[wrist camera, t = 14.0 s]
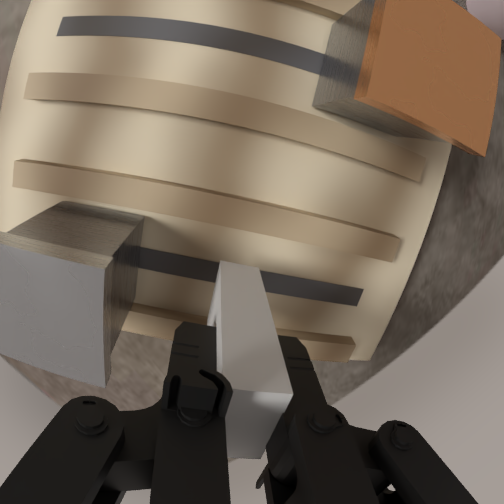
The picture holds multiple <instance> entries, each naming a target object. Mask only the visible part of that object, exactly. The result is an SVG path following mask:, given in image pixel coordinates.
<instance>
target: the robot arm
mask: <svg viewBox="0 0 504 504" xmlns="http://www.w3.org/2000/svg"><path fill="white" fill-rule="evenodd" d="M265 449H266V452H267V458H268V464H267V465H266V467H265V469H264V470H263V472H262V474H261V475H260V477H259V479H258V480H257V482H256V488H257V489H259V488H260V487H261V486H262V484H263V483H264V486H265V493H266V499H267V504H478V503H477V502H476V501H475V499H474V498H473V497H472V496H471V494H470V493H469V492H468V491H467V489H465V487H464V486H463V485H462V483H461V482H460V481H459V480H458V479H457V477H456V476H455V475H454V474H453V473H452V472H451V470H450V469H449V468H448V467H447V466H446V465H445V463H444V462H443V461H442V459H441V458H440V457H439V456H438V455H437V454H436V452H435V451H434V450H433V449H432V447H431V446H430V445H429V444H428V443H427V442H426V440H425V439H424V438H423V437H422V436H421V434H420V433H419V432H418V431H417V430H416V429H415V428H414V427H412V426H411V425H409V424H407V423H405V422H402V421H397V420H393V421H387V422H386V423H384V424H383V425H381V427H380V428H379V429H378V431H372V430H367V429H362V428H358V427H354V426H351V425H349V424H348V422H347V420H346V418H345V417H344V415H343V414H342V413H341V412H339V411H338V410H337V409H336V408H334V407H332V406H330V405H327V402H326V400H325V397H324V394H323V391H322V389H321V386H320V383H319V381H318V378H317V375H316V373H315V371H314V367H313V365H312V362H311V361H310V357H309V354H308V351H307V349H306V347H305V346H304V345H303V344H302V343H301V342H300V341H299V339H298V338H297V337H291V336H283V335H277V332H276V329H275V325H274V321H273V318H272V314H271V310H270V307H269V303H268V299H267V296H266V292H265V288H264V285H263V281H262V277H261V274H260V270H259V268H258V267H253V266H247V265H242V264H237V263H232V262H226V261H221V260H220V264H219V269H218V273H217V278H216V282H215V287H214V291H213V296H212V300H211V305H210V310H209V314H208V319H207V325H202V324H197V323H191V322H186V321H183V322H182V323H181V324H180V325H179V326H178V327H177V328H176V329H175V333H174V338H173V344H172V349H171V355H170V361H169V367H168V373H167V376H166V378H165V380H164V384H163V394H162V398H161V399H160V400H159V401H158V402H157V403H156V404H154V405H153V406H151V407H148V408H146V409H142V410H135V411H119V410H118V409H117V407H116V406H115V405H113V404H112V403H110V402H109V401H107V400H106V399H102V398H99V397H96V396H81V397H78V398H74V399H71V400H70V401H69V402H68V403H66V404H65V405H64V406H63V407H62V408H61V409H60V411H59V412H58V413H57V414H56V416H55V417H54V418H53V419H52V421H51V422H50V423H49V424H48V426H47V427H46V428H45V429H44V431H43V432H42V433H41V434H40V436H39V437H38V438H37V439H36V441H35V442H34V443H33V445H32V446H31V447H30V448H29V450H28V451H27V452H26V454H25V455H24V456H23V458H22V459H21V460H20V462H19V463H18V464H17V465H16V467H15V468H14V469H13V471H12V472H11V474H10V475H9V476H8V477H7V479H6V480H5V482H4V483H3V484H2V486H1V487H0V504H120V503H121V501H122V499H123V497H124V495H125V493H126V491H130V490H141V489H151V496H150V504H231V501H230V489H229V474H228V459H227V457H230V458H246V459H261V457H262V455H263V453H264V451H265ZM390 484H392V485H393V487H394V488H395V491H391V490H389V489H388V488H387V487H388V486H389V485H390Z"/></svg>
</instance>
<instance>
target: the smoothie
mask: <svg viewBox="0 0 504 504" xmlns="http://www.w3.org/2000/svg"><path fill="white" fill-rule="evenodd" d="M466 6H467V10H468V12H469V13H470V14H472V15H473V16H474V17H476V18H477V19H478V20H479V21H481V22H482V23H483V24H484V25H486V26H487V27H488V28H489V29H491V30H492V31H493V32H494V33H495V34H497V35H498V36H499V37H500V38H501V40H504V0H466Z"/></svg>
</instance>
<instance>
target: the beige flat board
mask: <svg viewBox="0 0 504 504" xmlns="http://www.w3.org/2000/svg"><path fill="white" fill-rule="evenodd" d="M360 1H361V0H31V3H30V6H29V8H28V11H27V13H26V16H25V19H24V22H23V25H22V28H21V31H20V34H19V37H18V40H17V43H16V47H15V50H14V54H13V57H12V61H11V65H10V69H9V73H8V77H7V81H6V86H5V91H4V96H3V101H2V106H1V112H0V231H2V232H8V231H10V230H11V229H13V228H15V227H16V226H18V225H20V224H21V223H23V222H25V221H27V220H28V219H30V218H32V217H34V216H35V215H37V214H39V213H41V212H43V211H44V210H46V209H48V208H50V207H52V206H54V205H55V204H57V203H59V202H61V201H68V202H73V203H79V204H84V205H89V206H95V207H100V208H105V209H111V210H116V211H121V212H126V213H132V214H137V215H142V216H145V217H144V224H143V232H142V239H141V247H140V256H139V265H138V274H137V285H136V296H135V300H134V302H133V304H132V306H131V309H130V311H129V313H128V315H127V318H126V320H125V322H124V324H123V327H122V329H121V330H124V331H128V332H133V333H137V334H142V335H147V336H152V337H157V338H162V339H167V340H172V341H173V338H174V333H175V329H176V328H177V327H178V326H179V325H180V324H181V323H182V322H183V321H186V322H191V323H197V324H202V325H207V319H208V314H209V310H210V305H211V300H212V296H213V291H214V287H215V282H216V278H217V273H218V269H219V264H220V260H221V261H226V262H232V263H237V264H242V265H247V266H253V267H258V268H259V270H260V274H261V277H262V281H263V285H264V288H265V292H266V296H267V299H268V303H269V307H270V310H271V314H272V318H273V321H274V325H275V329H276V332H277V335H283V336H291V337H297V338H298V339H299V341H300V342H301V343H302V344H303V345H304V346H305V347H306V349H307V351H308V354H309V357H310V360H319V361H332V362H347V363H348V361H349V360H363V361H370V359H371V357H372V355H373V353H374V351H375V349H376V347H377V345H378V343H379V341H380V339H381V337H382V335H383V333H384V331H385V329H386V327H387V325H388V323H389V321H390V319H391V317H392V314H393V312H394V310H395V308H396V306H397V303H398V301H399V299H400V297H401V294H402V292H403V290H404V287H405V285H406V283H407V280H408V278H409V276H410V273H411V271H412V268H413V266H414V263H415V261H416V258H417V255H418V253H419V250H420V247H421V245H422V242H423V239H424V237H425V234H426V231H427V228H428V225H429V222H430V219H431V216H432V213H433V210H434V207H435V204H436V201H437V198H438V194H439V191H440V188H441V184H442V181H443V177H444V174H445V170H446V166H447V163H448V159H449V155H450V151H451V147H452V144H451V143H445V142H438V141H431V140H423V139H415V138H406V137H396V136H392V135H389V134H387V133H384V132H382V131H379V130H377V129H374V128H372V127H369V126H367V125H364V124H361V123H359V122H356V121H353V120H351V119H348V118H345V117H342V116H339V115H336V114H333V113H331V112H328V111H325V110H321V109H318V108H315V107H312V103H313V99H314V95H315V91H316V87H317V83H318V79H319V75H320V71H321V67H322V63H323V59H324V55H325V51H326V47H327V43H328V39H329V35H330V31H331V27H332V24H333V23H335V22H336V21H337V20H338V19H339V18H341V17H342V16H343V15H344V14H345V13H346V12H348V11H349V10H350V9H351V8H353V7H354V6H355V5H356V4H357V3H359V2H360Z"/></svg>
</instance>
